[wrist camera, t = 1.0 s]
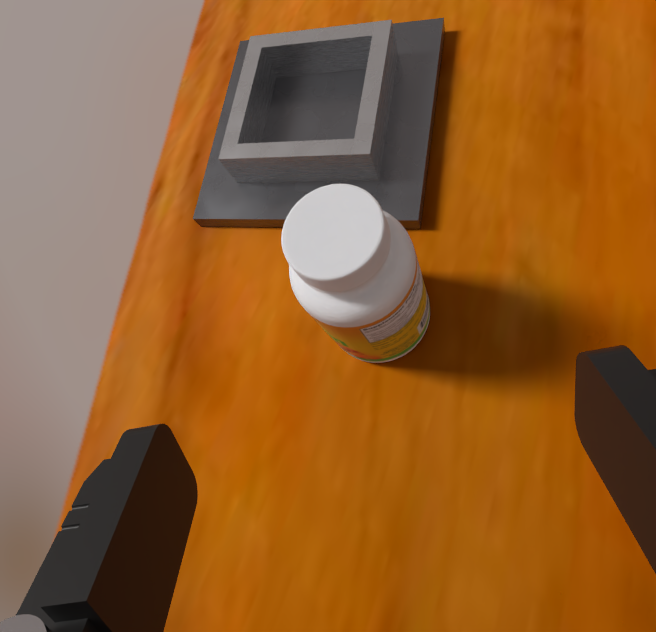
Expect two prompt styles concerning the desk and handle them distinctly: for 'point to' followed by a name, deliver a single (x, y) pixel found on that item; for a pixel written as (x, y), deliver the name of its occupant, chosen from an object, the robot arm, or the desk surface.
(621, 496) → the robot arm
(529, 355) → the desk surface
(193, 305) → the desk surface
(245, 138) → the socket plate
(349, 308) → the supplement bottle
